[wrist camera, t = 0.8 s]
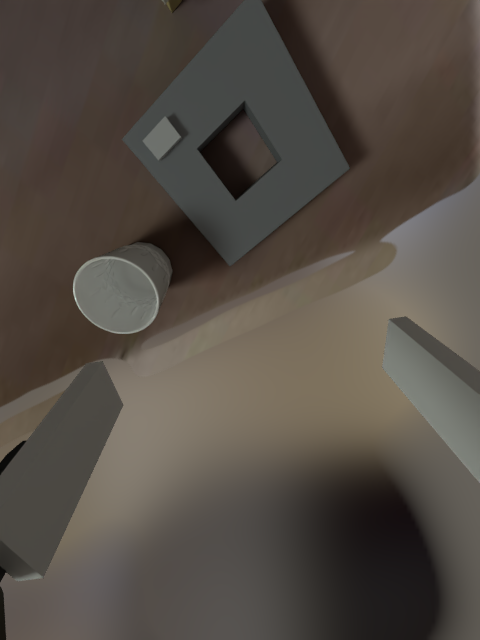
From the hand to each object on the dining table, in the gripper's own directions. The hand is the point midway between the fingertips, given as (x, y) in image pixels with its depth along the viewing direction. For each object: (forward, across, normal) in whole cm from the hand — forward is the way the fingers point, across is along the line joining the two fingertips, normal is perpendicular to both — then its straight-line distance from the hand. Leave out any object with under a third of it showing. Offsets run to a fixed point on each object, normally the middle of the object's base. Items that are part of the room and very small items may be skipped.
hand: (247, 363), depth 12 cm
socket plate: (+24, +2, +10) cm, 26 cm away
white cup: (+24, -12, -1) cm, 27 cm away
